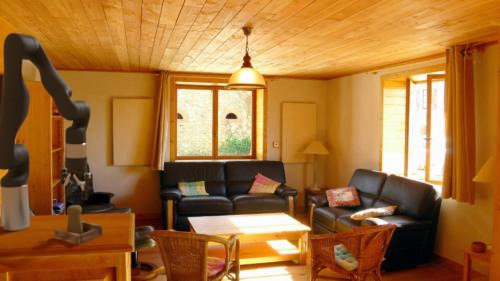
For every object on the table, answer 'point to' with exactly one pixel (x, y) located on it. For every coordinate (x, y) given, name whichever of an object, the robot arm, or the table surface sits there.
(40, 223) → the table surface
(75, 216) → the cork
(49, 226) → the table surface
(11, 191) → the robot arm
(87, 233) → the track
